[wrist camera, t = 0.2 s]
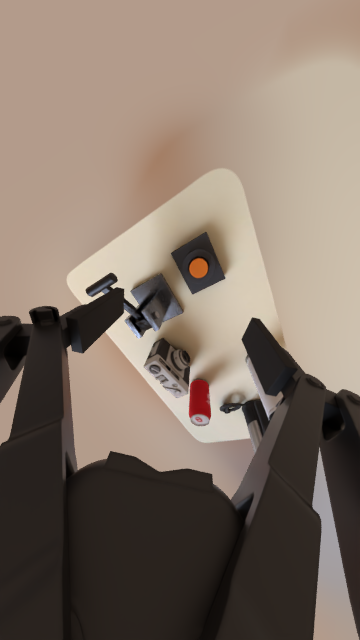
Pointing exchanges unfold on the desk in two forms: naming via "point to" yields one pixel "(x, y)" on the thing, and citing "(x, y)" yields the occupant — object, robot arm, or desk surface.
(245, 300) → the desk surface
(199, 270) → the button
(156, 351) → the camera
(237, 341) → the desk surface
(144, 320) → the switch lever
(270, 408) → the travel mug
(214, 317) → the desk surface
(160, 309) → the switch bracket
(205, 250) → the control block
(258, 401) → the milk frother
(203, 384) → the beverage can
